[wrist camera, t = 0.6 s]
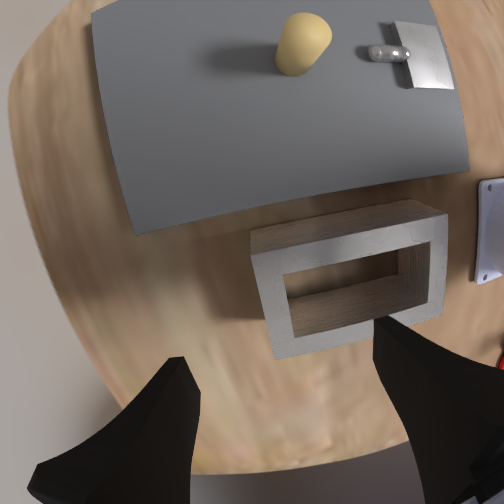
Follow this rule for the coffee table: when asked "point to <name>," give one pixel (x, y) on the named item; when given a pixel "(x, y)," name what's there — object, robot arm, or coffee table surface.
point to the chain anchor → (416, 56)
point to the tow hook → (501, 364)
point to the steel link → (359, 295)
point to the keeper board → (263, 104)
